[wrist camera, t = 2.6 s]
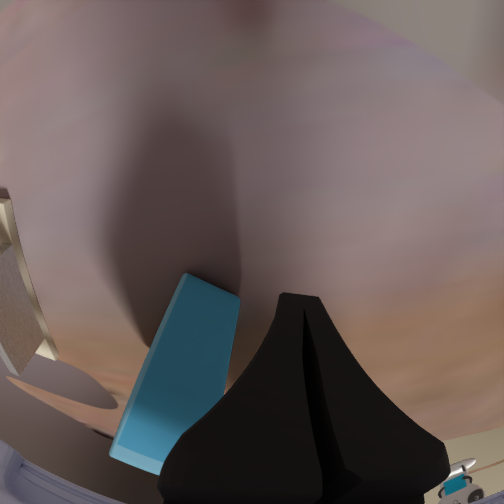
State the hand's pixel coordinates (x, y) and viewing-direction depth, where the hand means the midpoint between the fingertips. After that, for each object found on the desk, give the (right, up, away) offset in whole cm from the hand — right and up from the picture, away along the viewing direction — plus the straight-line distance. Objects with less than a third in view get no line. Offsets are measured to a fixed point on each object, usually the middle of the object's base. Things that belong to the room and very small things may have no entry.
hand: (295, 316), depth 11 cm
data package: (-7, -4, +15) cm, 17 cm away
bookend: (-28, -1, +15) cm, 32 cm away
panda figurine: (+43, -46, +35) cm, 72 cm away
